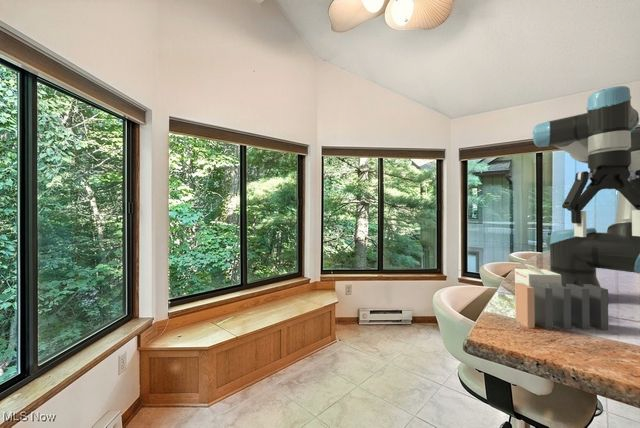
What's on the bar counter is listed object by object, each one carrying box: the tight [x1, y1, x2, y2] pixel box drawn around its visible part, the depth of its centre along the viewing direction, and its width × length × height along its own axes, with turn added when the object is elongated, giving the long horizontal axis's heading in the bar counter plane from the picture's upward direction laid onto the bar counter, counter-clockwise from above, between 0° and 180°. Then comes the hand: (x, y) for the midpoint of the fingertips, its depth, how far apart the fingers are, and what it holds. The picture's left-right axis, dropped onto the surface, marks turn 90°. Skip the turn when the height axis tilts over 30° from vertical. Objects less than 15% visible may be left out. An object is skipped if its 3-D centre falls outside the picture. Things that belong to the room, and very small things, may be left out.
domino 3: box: [549, 284, 572, 330], centre depth 71 cm, size 2×5×10 cm, turn 174°
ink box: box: [514, 263, 562, 287], centre depth 81 cm, size 9×8×13 cm
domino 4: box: [566, 284, 591, 331], centre depth 70 cm, size 2×5×10 cm, turn 174°
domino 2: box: [532, 283, 554, 330], centre depth 71 cm, size 2×5×10 cm, turn 174°
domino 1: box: [514, 282, 536, 329], centre depth 72 cm, size 2×5×10 cm, turn 174°
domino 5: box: [583, 284, 609, 331], centre depth 70 cm, size 2×5×10 cm, turn 174°
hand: (609, 236), depth 70 cm, fingers open, 13 cm apart
